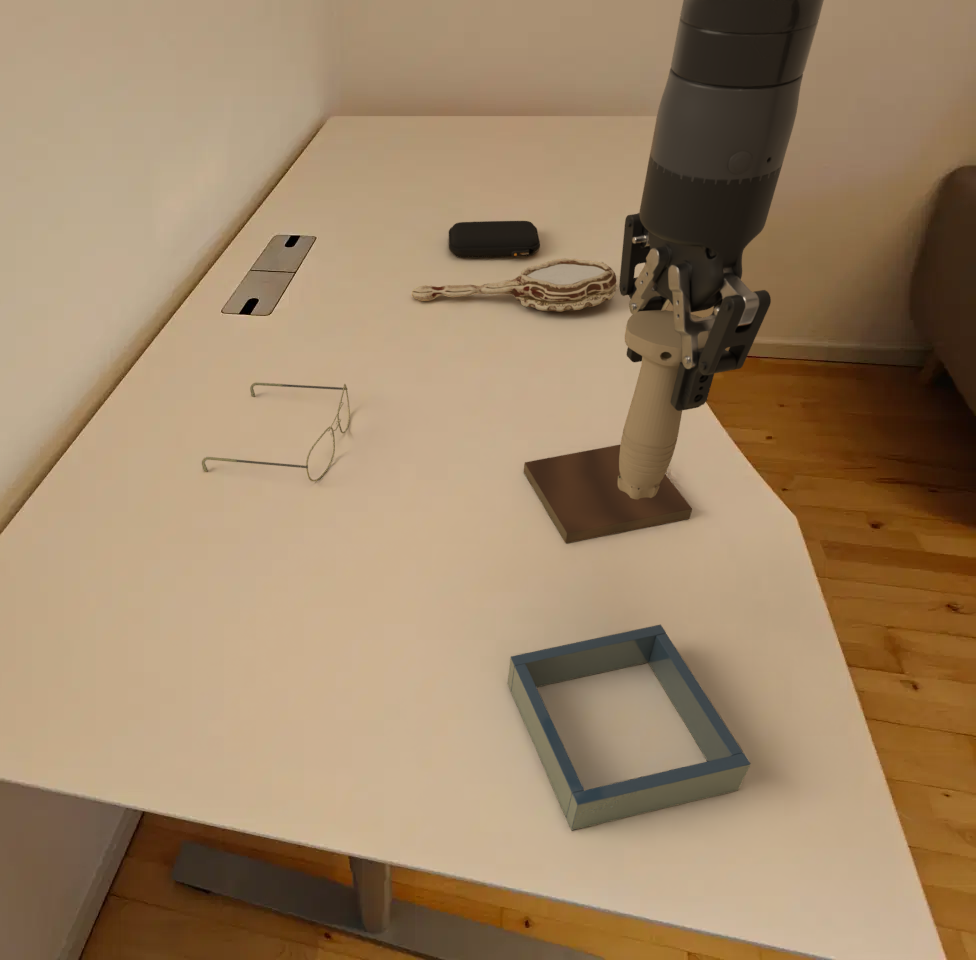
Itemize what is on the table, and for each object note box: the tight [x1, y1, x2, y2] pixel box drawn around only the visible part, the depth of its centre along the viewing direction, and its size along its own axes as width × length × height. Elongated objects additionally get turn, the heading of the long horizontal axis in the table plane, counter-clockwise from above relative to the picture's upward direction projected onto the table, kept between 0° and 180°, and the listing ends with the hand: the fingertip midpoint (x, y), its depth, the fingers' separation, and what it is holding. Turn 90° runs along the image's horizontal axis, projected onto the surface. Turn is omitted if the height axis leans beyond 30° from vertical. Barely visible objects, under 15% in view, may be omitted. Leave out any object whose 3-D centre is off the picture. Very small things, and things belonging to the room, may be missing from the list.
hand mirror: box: [411, 258, 618, 312], centre depth 125 cm, size 11×6×30 cm
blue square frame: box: [506, 624, 752, 831], centre depth 69 cm, size 14×14×4 cm
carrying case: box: [448, 220, 541, 259], centre depth 139 cm, size 11×3×15 cm
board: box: [523, 443, 693, 544], centre depth 93 cm, size 14×12×2 cm
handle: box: [618, 309, 708, 499], centre depth 63 cm, size 5×6×15 cm
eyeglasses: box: [201, 382, 351, 482], centre depth 103 cm, size 16×15×5 cm
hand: (662, 380), depth 61 cm, fingers closed on handle, 6 cm apart
